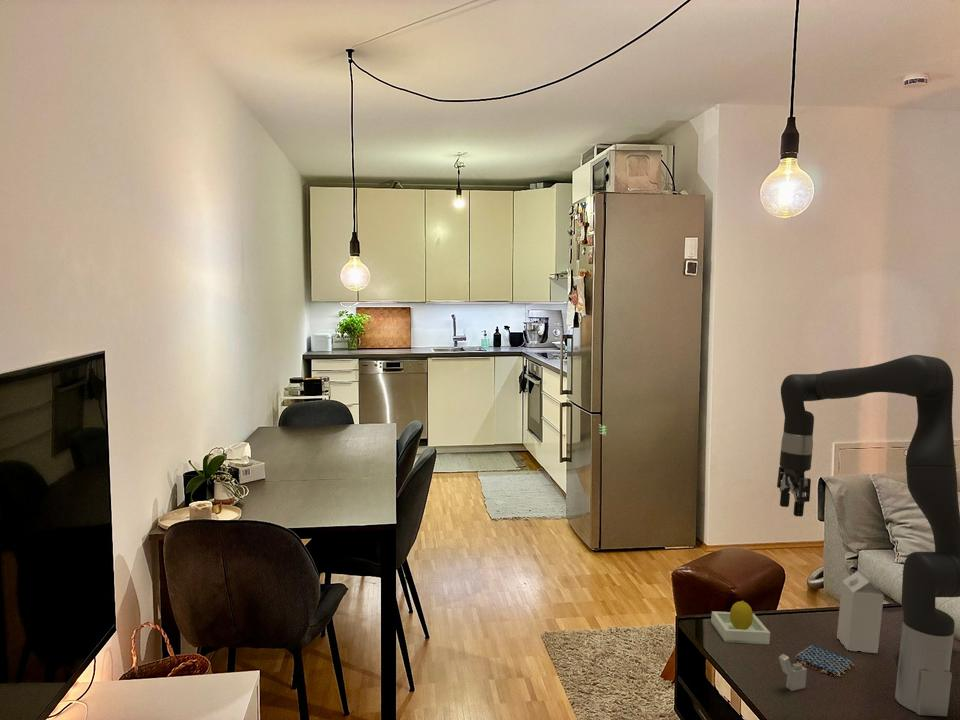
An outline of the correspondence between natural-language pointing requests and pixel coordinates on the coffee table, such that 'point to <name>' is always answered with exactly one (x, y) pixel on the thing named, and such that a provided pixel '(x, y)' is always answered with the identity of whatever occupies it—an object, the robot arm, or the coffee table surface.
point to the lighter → (793, 673)
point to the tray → (733, 635)
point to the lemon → (741, 615)
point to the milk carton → (860, 613)
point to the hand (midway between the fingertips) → (790, 511)
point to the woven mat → (824, 660)
